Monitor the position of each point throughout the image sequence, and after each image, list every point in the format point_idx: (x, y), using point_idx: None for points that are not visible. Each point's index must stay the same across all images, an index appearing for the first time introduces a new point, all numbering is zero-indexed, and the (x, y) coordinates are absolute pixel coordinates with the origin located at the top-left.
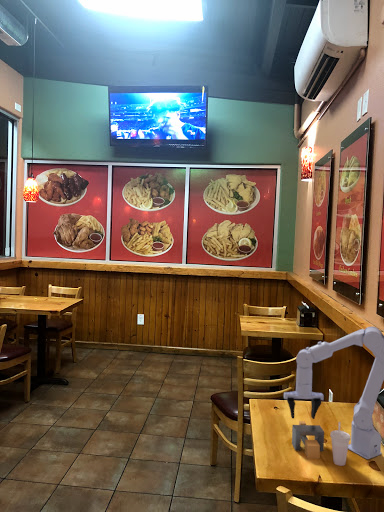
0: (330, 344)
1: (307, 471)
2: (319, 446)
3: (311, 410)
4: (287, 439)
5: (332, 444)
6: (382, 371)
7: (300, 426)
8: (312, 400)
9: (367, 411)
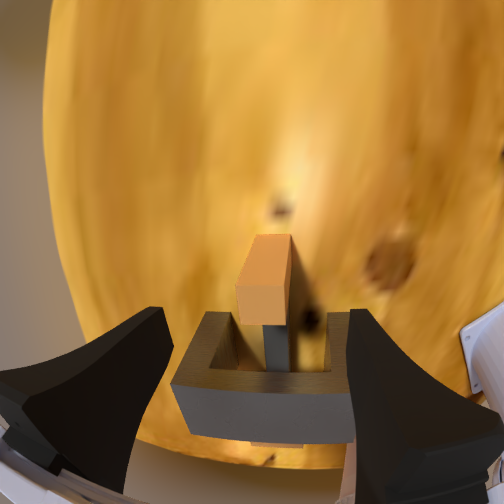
0: None
1: (243, 445)
2: (301, 445)
3: (363, 343)
4: (186, 271)
5: (342, 478)
6: None
7: (221, 405)
8: (380, 480)
9: None
